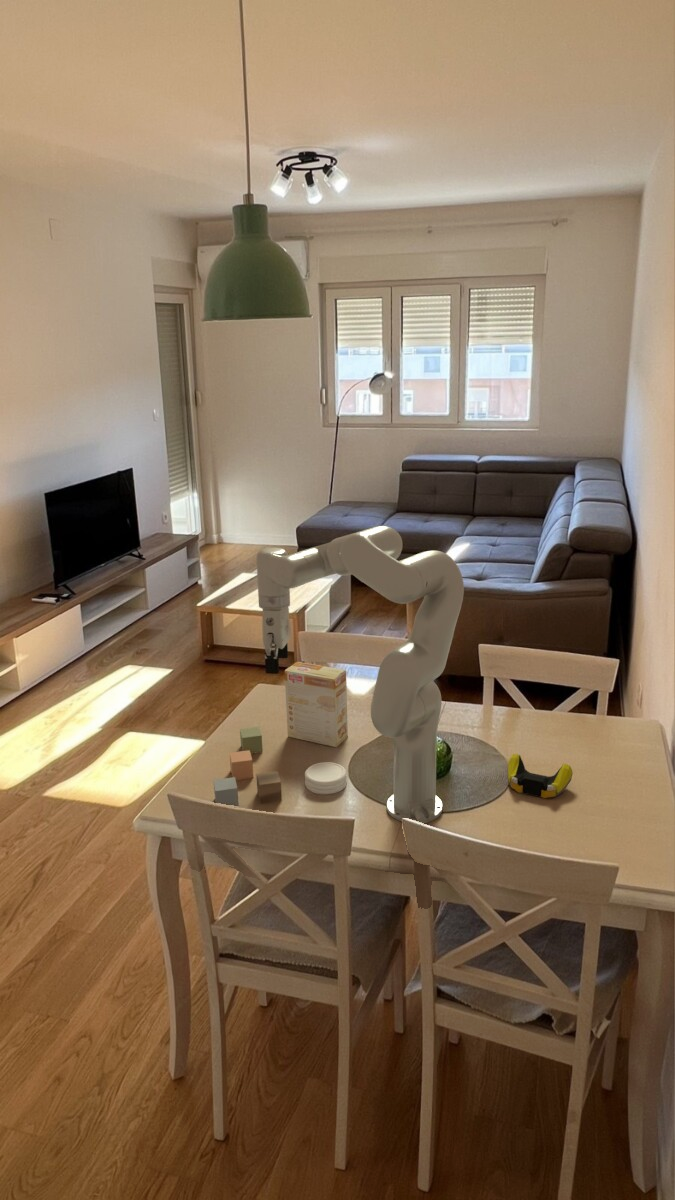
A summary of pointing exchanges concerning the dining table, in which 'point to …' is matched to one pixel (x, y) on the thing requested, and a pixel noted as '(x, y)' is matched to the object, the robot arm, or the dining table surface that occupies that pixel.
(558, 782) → the gaming controller
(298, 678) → the coffeecake box
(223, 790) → the slate-grey block
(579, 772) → the dining table surface
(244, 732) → the green cube
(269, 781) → the walnut block
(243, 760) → the terracotta block
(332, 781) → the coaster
